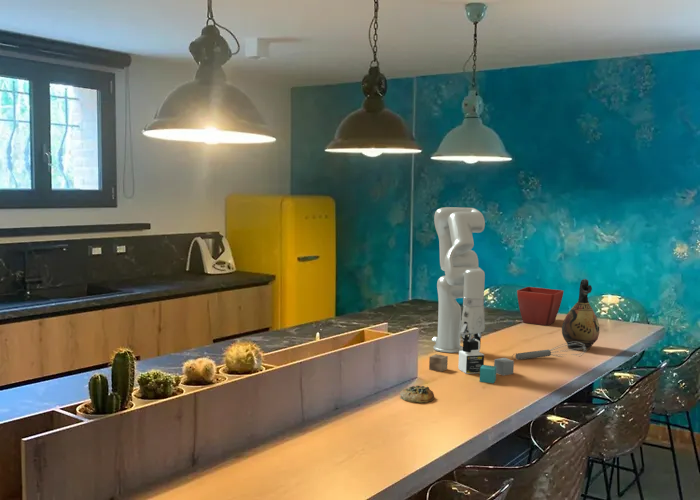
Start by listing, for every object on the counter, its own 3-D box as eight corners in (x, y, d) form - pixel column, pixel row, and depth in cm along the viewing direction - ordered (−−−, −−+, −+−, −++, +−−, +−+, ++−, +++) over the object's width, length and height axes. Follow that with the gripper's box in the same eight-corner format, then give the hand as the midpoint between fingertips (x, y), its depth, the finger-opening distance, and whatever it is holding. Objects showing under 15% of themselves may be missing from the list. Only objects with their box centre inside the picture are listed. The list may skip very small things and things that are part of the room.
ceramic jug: (601, 353, 288) (604, 283, 285) (562, 351, 291) (566, 281, 288) (595, 344, 305) (598, 277, 302) (559, 342, 308) (562, 276, 305)
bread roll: (431, 393, 227) (431, 379, 226) (436, 408, 216) (436, 393, 215) (398, 393, 227) (398, 379, 226) (401, 409, 216) (401, 394, 215)
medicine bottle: (466, 374, 251) (467, 342, 250) (458, 369, 258) (459, 337, 257) (483, 373, 253) (485, 341, 252) (475, 368, 260) (476, 337, 259)
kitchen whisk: (508, 358, 277) (508, 343, 277) (580, 354, 287) (581, 340, 286) (515, 362, 272) (516, 346, 271) (589, 358, 281) (590, 343, 280)
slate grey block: (493, 372, 255) (494, 359, 255) (504, 370, 257) (504, 357, 257) (503, 375, 251) (503, 362, 250) (513, 374, 253) (513, 360, 253)
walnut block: (429, 369, 257) (429, 356, 256) (435, 367, 261) (435, 354, 261) (441, 372, 254) (441, 358, 254) (447, 369, 258) (447, 356, 258)
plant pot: (562, 322, 356) (564, 289, 355) (552, 327, 340) (553, 294, 338) (526, 317, 366) (528, 286, 365) (514, 323, 350) (516, 290, 349)
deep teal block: (479, 381, 242) (480, 368, 242) (481, 378, 247) (482, 364, 246) (493, 383, 240) (494, 369, 240) (495, 380, 245) (496, 366, 244)
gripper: (470, 306, 244) (468, 355, 246) (493, 301, 258) (491, 348, 259) (452, 303, 249) (450, 352, 251) (476, 298, 262) (474, 344, 264)
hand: (471, 349), depth 255 cm, fingers closed on medicine bottle, 6 cm apart
